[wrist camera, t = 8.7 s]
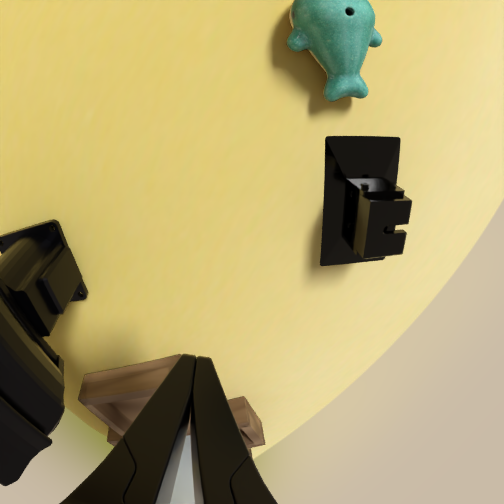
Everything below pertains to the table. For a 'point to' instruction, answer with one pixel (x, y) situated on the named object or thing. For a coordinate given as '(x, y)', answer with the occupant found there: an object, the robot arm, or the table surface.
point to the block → (184, 478)
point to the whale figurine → (335, 41)
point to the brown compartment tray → (140, 391)
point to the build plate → (362, 200)
